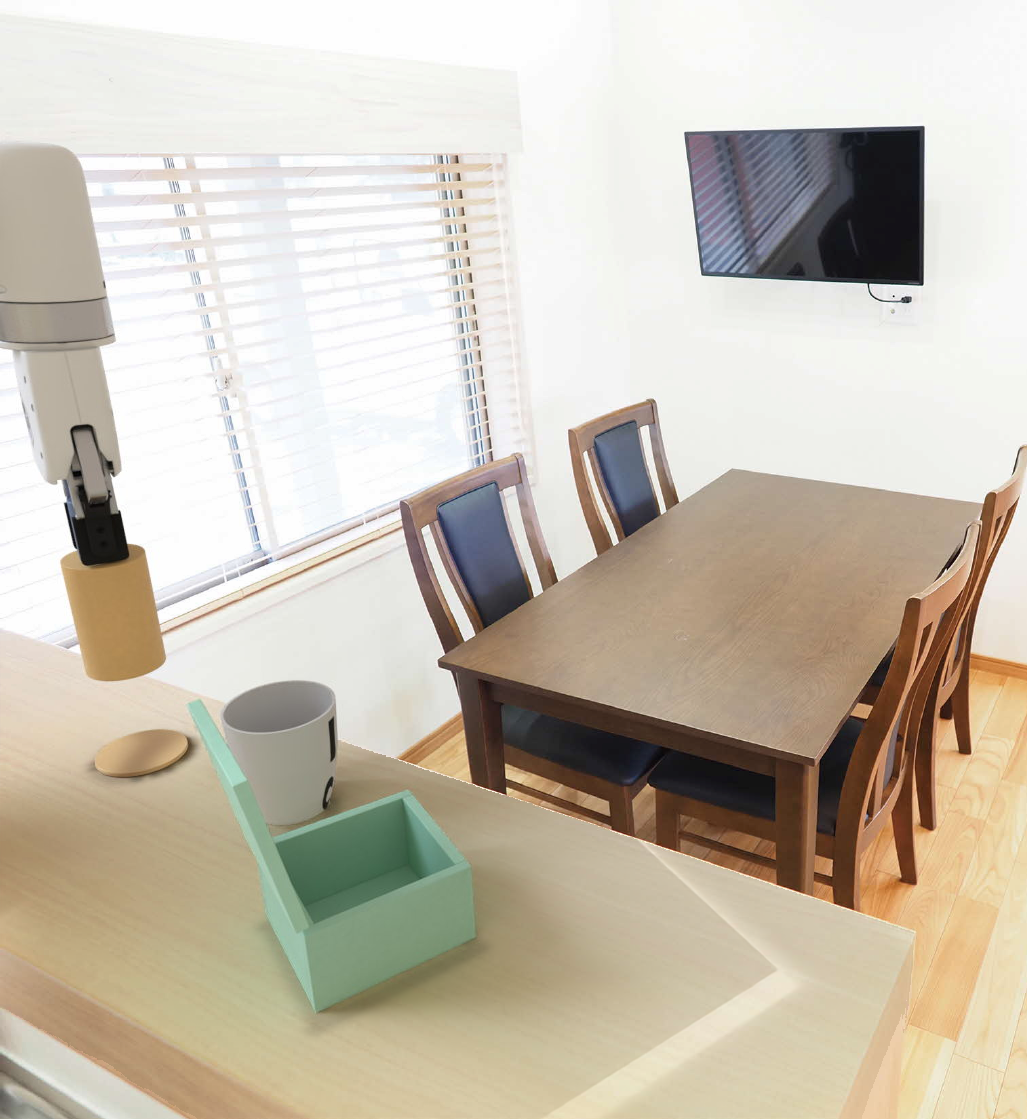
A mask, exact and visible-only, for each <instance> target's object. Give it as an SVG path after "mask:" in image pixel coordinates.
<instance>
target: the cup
mask: <svg viewBox="0 0 1027 1119" xmlns="http://www.w3.org/2000/svg"><path fill="white" fill-rule="evenodd" d="M219 716H220V717H219V718H220V722H221V725H222V730H223V733H224V737H225V742H226V744H227V745H228V747H229V749H230V750H231V752H232V754H233V756H234V757H235V759H236V761H237V762H238V764H239V766H240V768H241V769H242V771H243V773H244V774H245V776H246V778H247V780H248V782H249V784H250V786H251V789H252V791H253V793H254V796H255V798H256V801H257V803H258V805H259V808H260V810H261V812H262V815H263V817H264V820H265V822H266V824H267V825H271V826H272V825H274V826H290V825H291V826H292V825H296V824H300V823H303V822H306V821H309V820H311V819H313V818H316V817H317V816H318V815H320V814H321V813H323V812H324V811H326V809H327V808H328V806H329V805H330V802H331V799H332V795H333V791H334V788H335V783H336V775H337V762H338V760H337V759H338V748H339V736H338V735H339V734H338V717H337V699H336V694H335V691H334V690H333V689H332V688H331V687H329V686H327V685H326V684H323V683H320V682H317V681H312V680H303V679H301V680H300V679H295V680H293V679H291V680H281V681H274V682H270V683H266V684H261V685H259V686H255V687H253V688H250V689H248V690H245V691H243V692H241V693H239V694H238V695H236V696H234V697H233V698H231V699H230V700H229V701H227V703H226V704H225V705H224V706H223V707H222V710H221V711H220V715H219Z"/></svg>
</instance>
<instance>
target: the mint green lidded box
mask: <svg viewBox="0 0 1027 1119" xmlns="http://www.w3.org/2000/svg"><path fill="white" fill-rule="evenodd" d="M272 838H273V841H274V843H275V846H276V848H277V850H278V853H279V855H280V857H281V860H282V862H283V865H284V867H285V869H286V872H287V874H288V876H289V879H290V881H291V883H292V886H293V888H294V891H295V893H296V895H297V898H298V900H299V902H300V905H301V907H302V909H303V912H304V914H305V917H306V919H307V921H308V924H309V927H308V928H307V929H305V930H303V931H302V932H300V933H298V934H296V933H295V931H294V929H293V927H292V925H291V924H290V922H289V920H288V918H287V916H286V914H285V912H284V910H283V909H282V907H281V905H280V903H279V901H278V899H277V897H276V895H275V894H274V892H273V890H272V888H271V886H270V884H269V882H268V880H267V878H266V877H265V875H264V873H263V871H262V869H261V867H260V865H259V863H258V862H257V861H256V865H257V869H258V876H259V882H260V888H261V894H262V900H263V906H264V912H265V915H266V917H267V921H268V922H269V924H270V925H271V928H272V930H273V932H274V933H275V935H276V937H277V939H278V942H279V943H280V945H281V947H282V949H283V952H284V953H285V955H286V958H287V959H288V961H289V963H290V965H291V968H292V969H293V971H294V973H295V975H296V977H297V979H298V981H299V983H300V984H301V987H302V989H303V991H304V993H305V996H306V997H307V999H308V1000H309V1002H310V1004H311V1007H312V1008H313V1011H314V1014H315V1013H316V1014H317V1013H320V1012H321V1011H324V1010H326V1009H328V1008H330V1007H332V1006H334V1005H337V1004H339V1003H341V1002H343V1001H345V1000H347V999H349V998H351V997H354V996H355V995H358V994H360V993H362V992H364V991H366V990H368V989H371V988H372V987H374V986H376V985H379V984H381V983H383V982H385V981H387V980H389V979H392V978H393V977H396V976H398V975H400V974H402V973H404V972H406V971H408V970H410V969H412V968H414V967H416V966H418V965H420V964H423V963H425V962H427V961H429V960H431V959H433V958H435V957H438V956H439V955H442V954H444V953H446V952H448V951H450V950H452V949H454V948H456V947H458V946H461V945H463V944H465V943H467V942H469V941H471V940H474V939H475V938H477V937H476V936H477V931H476V917H475V916H476V914H475V901H474V886H473V884H474V883H473V867H472V864H470V863H469V861H468V860H467V859H466V857H465V856H464V855H463V854H462V852H461V851H460V850H459V849H458V848H457V847H456V846H455V845H454V844H455V843H453V842H452V841H451V839H450V838H449V837H448V836H447V835H446V832H444V831H443V830H442V828H441V827H440V826H439V825H438V823H437V822H436V821H435V820H434V818H433V817H432V816H431V815H430V813H429V812H428V811H427V810H426V809H425V808H424V806H423V805H422V804H421V803H420V801H419V800H418V799H417V798H416V796H415V795H414V794H413V793H412V792H411V791H410V789H405V790H402V791H399V792H397V793H394V794H391V795H388V796H386V797H383V798H380V799H377V800H373V801H371V802H369V803H365V804H362V805H360V806H358V807H354V808H351V809H349V810H345V811H343V812H341V813H337V814H335V815H331V816H330V817H326V818H323V819H321V820H318V821H315V822H312V823H310V824H306V825H304V826H301V827H297V828H295V829H293V830H290V831H287V832H284V833H282V834H279V835H276V836H272Z"/></svg>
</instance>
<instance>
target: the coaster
mask: <svg viewBox="0 0 1027 1119" xmlns="http://www.w3.org/2000/svg"><path fill="white" fill-rule="evenodd" d="M188 748H189V741H188V738H187V737H186V736H185V735H184V734H183V733H182V732H181V731H180V732H179V731H177V730H173V729H167V728H166V729H164V728H161V729H160V728H159V729H158V728H157V729H148V730H142V731H136V732H134V733H129V734H126V735H124V736H121V737H119V738H117V739H115V740H112V741H111V742H109V743H107V744H106V745H105V746H104V747H102V748H101V749H100V750H99V751H98V752H97V754H96V755H95V758H94V765H95V768H96V770H97V771H98V772H99V773H100V774H102V775H105V776H108V777H112V778H113V777H114V778H130V777H139V776H143V775H148V774H151V773H154V772H158V771H160V770H163V769H165V768H167V767H169V766H171V765H173V764H174V763H176V762H177V761H179V760H180V759H181V758H182V757H183V756H184V755H185V754H186V752H187V751H188Z"/></svg>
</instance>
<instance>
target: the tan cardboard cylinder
mask: <svg viewBox="0 0 1027 1119" xmlns="http://www.w3.org/2000/svg"><path fill="white" fill-rule="evenodd" d="M66 502H67V505H68V510H69V514H70V519H71V517H74V516H75V513H74V508H73V504H72V500H71V497H69V498H68V499H67V500H66ZM71 523H72V519H71ZM72 527H73V523H72ZM73 532H74V528H73ZM74 536H75V532H74ZM75 541H76V537H75ZM76 545H77V541H76ZM127 545H128V550H129V557H128V558H127V559H125V560H120V561H114V562H108V563H102V564H97V565H91V566H85V565H83V564H82V562H81V559H80V554H79V550H78V545H77V549H75V550H74V551H71V552H69V553H67V554H66V555H64V556H63V557H62V558H61V559H60V562H59V564H60V569H61V572H62V577H63V581H64V585H65V586H64V587H65V589H66V590H65V591H66V594H67V599H68V602H69V607H70V611H71V616H72V620H73V624H74V628H75V633H76V637H77V641H78V645H79V648H80V649H79V650H80V654H81V658H82V662H83V668H84V671H85V675H86V676H87V677H88V678H89V679H91V680H94V681H99V682H121V681H126V680H127V681H128V680H131V679H137V678H140V677H142V676H145V675H148V674H151V673H153V672H154V671H156V670H158V669H159V668H160V667H162V666H163V665H164V664H165V663H166V660H167V655H166V650H165V644H164V640H163V639H164V638H163V635H162V630H161V625H160V619H159V613H158V610H157V604H156V599H155V594H154V589H153V584H152V578H151V573H150V568H149V564H148V558H147V553H146V550H145V548H144V547H143V546H142V545H141V546H140V545H139V544H133V543H127Z"/></svg>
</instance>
